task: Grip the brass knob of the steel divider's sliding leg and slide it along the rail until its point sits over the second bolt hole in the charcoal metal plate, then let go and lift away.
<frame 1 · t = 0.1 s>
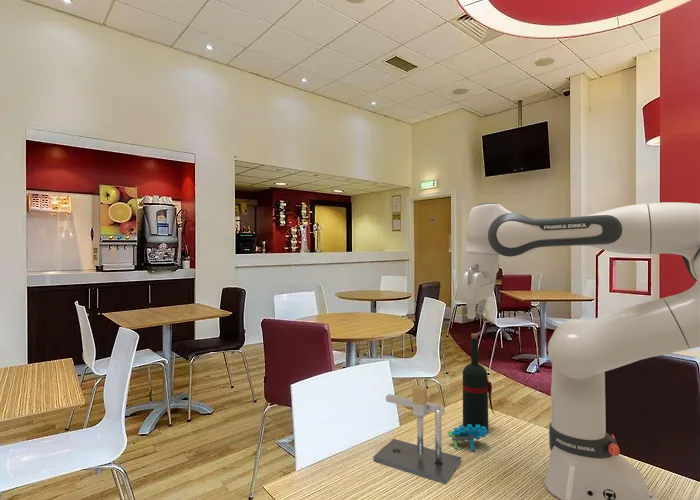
hand: (475, 316, 105), 39 cm above the table, tool pointing down, fingers open, 8 cm apart
gear: (468, 446, 113), on the table
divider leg: (420, 421, 105), point 11 cm above the table, slide at 5.0 cm
wine bottle: (479, 430, 124), on the table
bolt plate: (417, 461, 105), on the table
divider frame: (413, 427, 107), on the bolt plate, point 8 cm above the table
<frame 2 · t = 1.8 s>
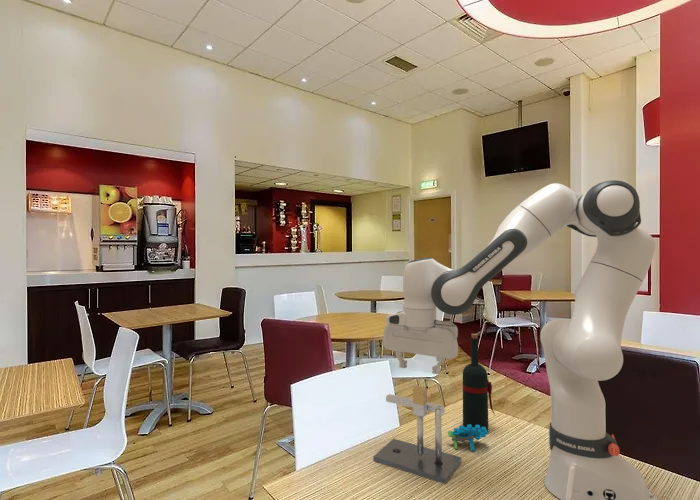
hand: (419, 370, 105), 24 cm above the table, tool pointing down, fingers open, 8 cm apart
nothing on the table moved.
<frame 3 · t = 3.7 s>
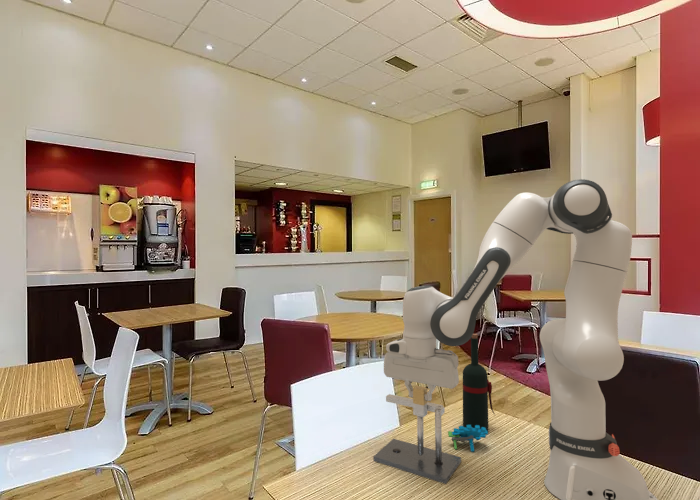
hand: (420, 398, 105), 17 cm above the table, tool pointing down, fingers closed on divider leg, 3 cm apart
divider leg: (420, 421, 105), point 11 cm above the table, slide at 5.0 cm, touching gripper
everything else where it was.
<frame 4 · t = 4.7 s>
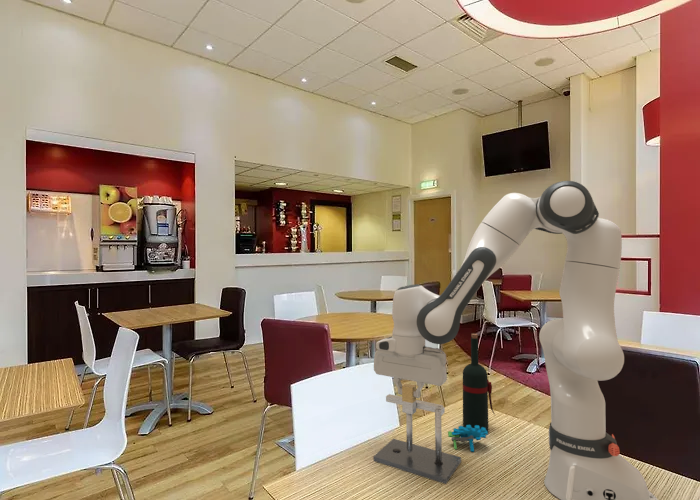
hand: (409, 395, 106), 17 cm above the table, tool pointing down, fingers closed on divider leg, 3 cm apart
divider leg: (409, 419, 106), point 11 cm above the table, slide at 8.1 cm, touching gripper
everything else where it was.
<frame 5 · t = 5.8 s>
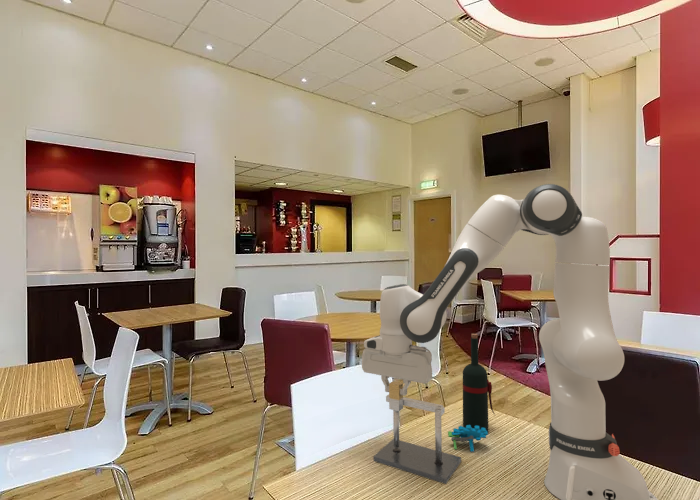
hand: (396, 393, 108), 17 cm above the table, tool pointing down, fingers closed on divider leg, 3 cm apart
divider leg: (396, 415, 108), point 11 cm above the table, slide at 12.1 cm, touching gripper
everything else where it was.
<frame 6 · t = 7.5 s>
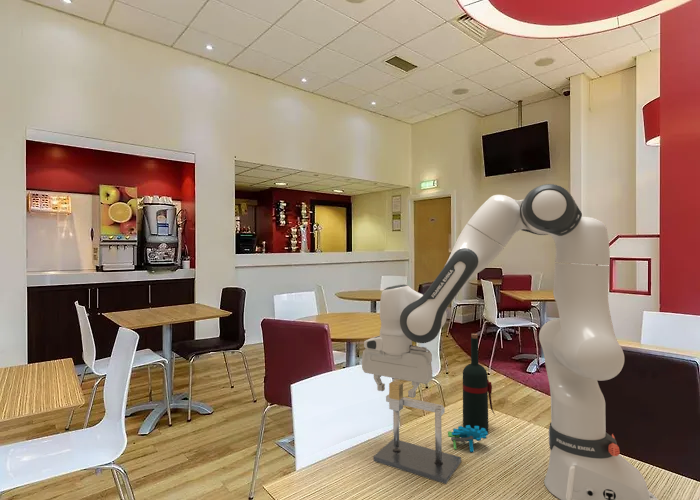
hand: (396, 393, 108), 17 cm above the table, tool pointing down, fingers open, 8 cm apart
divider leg: (396, 415, 108), point 11 cm above the table, slide at 12.1 cm
everything else where it was.
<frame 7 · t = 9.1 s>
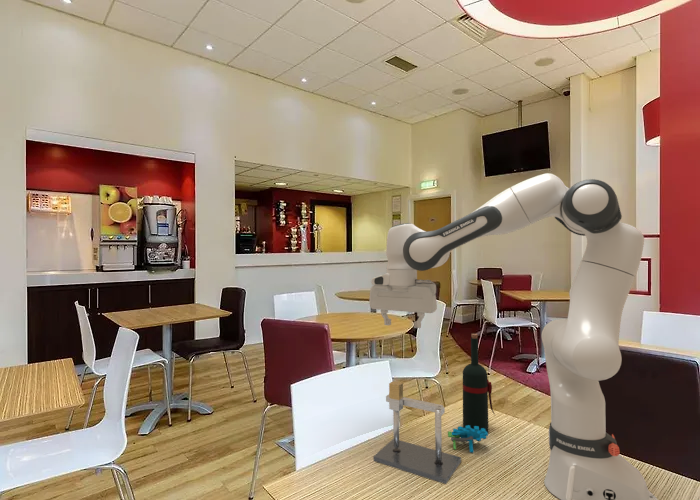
hand: (402, 326, 115), 34 cm above the table, tool pointing down, fingers open, 8 cm apart
nothing on the table moved.
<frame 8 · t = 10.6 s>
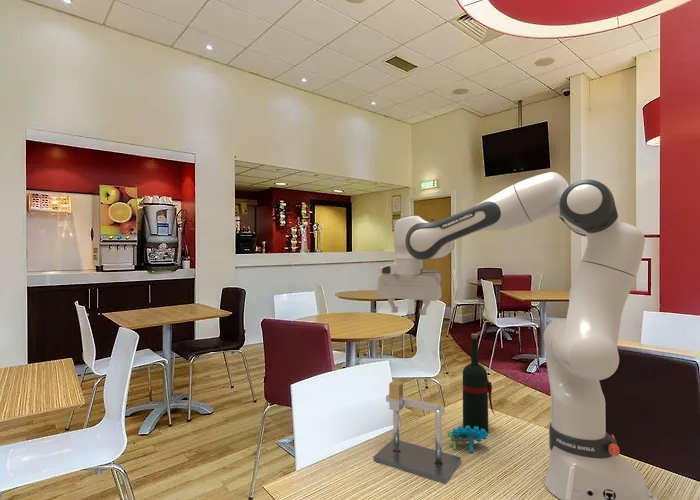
hand: (408, 313, 121), 37 cm above the table, tool pointing down, fingers open, 8 cm apart
at the end: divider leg slide at 12.1 cm; the gripper is holding nothing; gear moved 1.1 cm from its start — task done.
